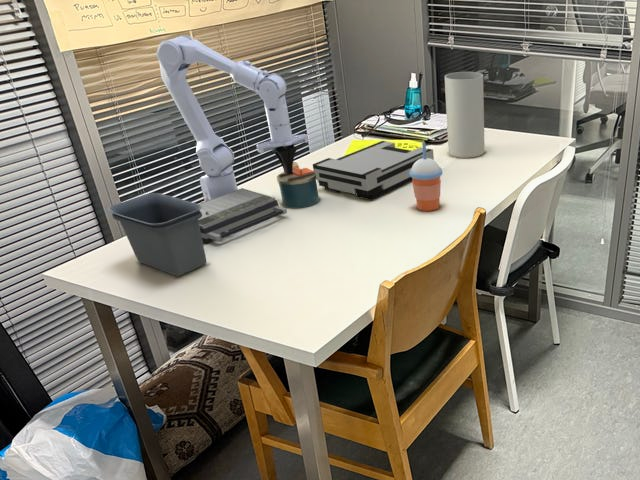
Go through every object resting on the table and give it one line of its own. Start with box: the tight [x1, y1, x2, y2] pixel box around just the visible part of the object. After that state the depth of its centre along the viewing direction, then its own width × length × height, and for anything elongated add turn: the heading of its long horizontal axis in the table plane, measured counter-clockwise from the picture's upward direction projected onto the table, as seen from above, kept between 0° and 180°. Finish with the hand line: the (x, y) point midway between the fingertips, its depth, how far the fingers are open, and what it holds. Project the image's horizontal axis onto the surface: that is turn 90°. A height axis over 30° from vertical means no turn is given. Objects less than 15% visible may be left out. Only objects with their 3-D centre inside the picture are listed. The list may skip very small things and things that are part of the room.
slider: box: [293, 167, 314, 176], centre depth 188 cm, size 4×4×2 cm
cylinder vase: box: [444, 71, 486, 159], centre depth 219 cm, size 12×12×25 cm
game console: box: [312, 140, 435, 201], centre depth 202 cm, size 21×32×8 cm, turn 147°
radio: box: [198, 187, 288, 244], centre depth 177 cm, size 24×5×20 cm
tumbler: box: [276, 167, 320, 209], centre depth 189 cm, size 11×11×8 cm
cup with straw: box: [409, 142, 443, 212], centre depth 180 cm, size 9×9×18 cm
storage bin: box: [107, 192, 207, 277], centre depth 156 cm, size 21×16×14 cm
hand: (288, 172), depth 185 cm, fingers closed
